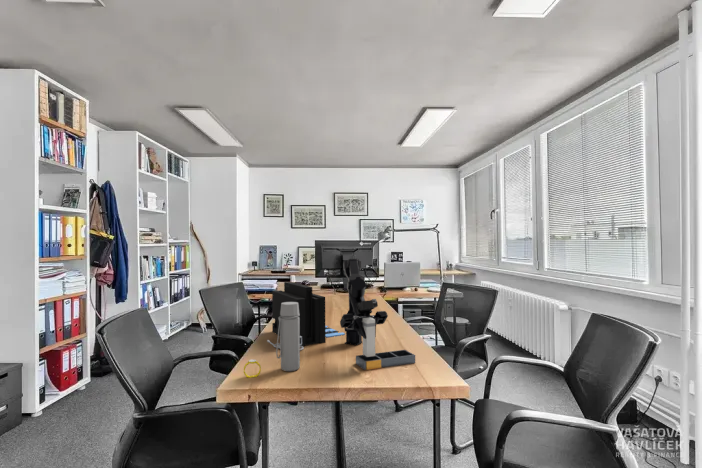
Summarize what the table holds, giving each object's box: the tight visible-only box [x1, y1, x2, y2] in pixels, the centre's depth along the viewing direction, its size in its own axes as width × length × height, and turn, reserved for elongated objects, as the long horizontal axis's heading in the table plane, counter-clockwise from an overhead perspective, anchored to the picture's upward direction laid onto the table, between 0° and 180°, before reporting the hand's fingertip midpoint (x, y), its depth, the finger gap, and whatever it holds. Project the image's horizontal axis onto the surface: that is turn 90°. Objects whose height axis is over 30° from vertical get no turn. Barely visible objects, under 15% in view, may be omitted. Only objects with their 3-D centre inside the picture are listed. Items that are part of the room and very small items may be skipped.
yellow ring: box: [243, 359, 262, 379], centre depth 139 cm, size 6×3×6 cm, turn 106°
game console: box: [271, 281, 346, 347], centre depth 201 cm, size 35×30×27 cm
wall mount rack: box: [266, 336, 304, 351], centre depth 173 cm, size 16×14×6 cm
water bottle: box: [275, 302, 301, 372], centre depth 147 cm, size 9×8×25 cm
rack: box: [355, 349, 416, 371], centre depth 151 cm, size 22×9×4 cm, turn 111°
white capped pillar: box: [362, 317, 376, 357], centre depth 149 cm, size 4×4×14 cm
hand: (370, 337), depth 148 cm, fingers closed on white capped pillar, 3 cm apart
